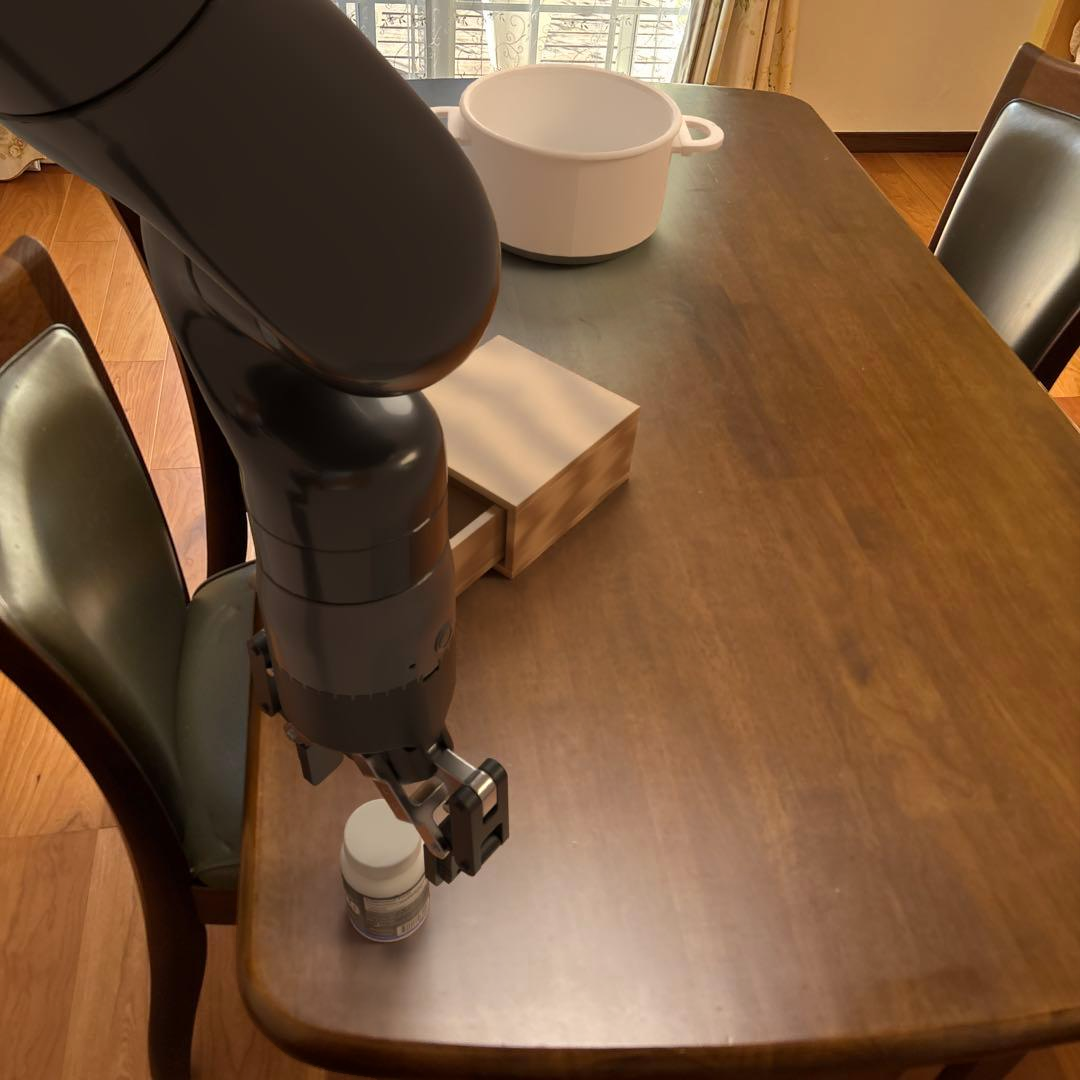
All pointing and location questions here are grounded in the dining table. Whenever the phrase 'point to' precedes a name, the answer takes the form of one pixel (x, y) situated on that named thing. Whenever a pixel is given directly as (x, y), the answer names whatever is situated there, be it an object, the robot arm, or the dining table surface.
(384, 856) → the pill bottle
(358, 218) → the robot arm
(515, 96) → the pot
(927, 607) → the dining table surface
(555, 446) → the cabinet
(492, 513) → the drawer
